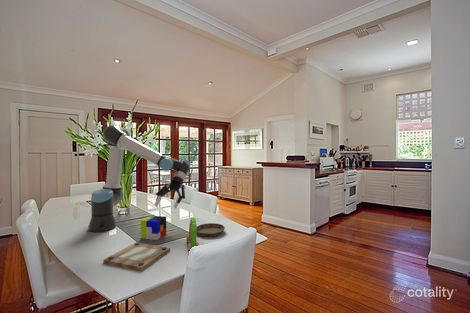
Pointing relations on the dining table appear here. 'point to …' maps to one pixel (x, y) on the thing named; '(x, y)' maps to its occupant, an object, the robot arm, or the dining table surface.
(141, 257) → the base plate
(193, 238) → the green upright piece
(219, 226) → the plant saucer
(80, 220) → the dining table surface
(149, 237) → the puzzle toy
